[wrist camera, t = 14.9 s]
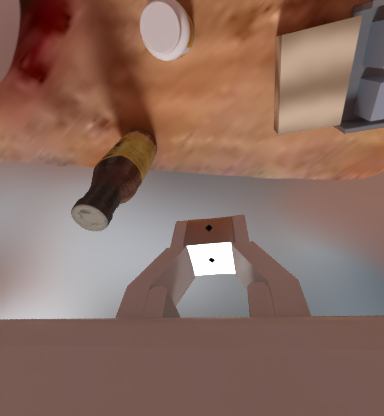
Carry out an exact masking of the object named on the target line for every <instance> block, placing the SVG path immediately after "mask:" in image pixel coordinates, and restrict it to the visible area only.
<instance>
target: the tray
mask: <svg viewBox="0 0 384 416" xmlns="http://www.w3.org/2000/svg"><path fill="white" fill-rule="evenodd" d="M361 15H362V20H361V25H360V30H359V35H358V40H357V45H356V50H355V55H354V60H353V65H352V70H351V75H350V80H349V85H348V89H347V94H346V99H345V104H344V109H343V114H342V119H341V124H340V125H336V126H334V127H335V128H337V129H338V130H340V131H341V132H343V133H344V134H345V133H351V132H358V131H364V130H370V129H377V128H383V127H384V119H382V120H375V121H368V120H366V119H364V118H362V117H360V116H358V115H355V114H353V109H354V104H355V100H356V96H357V91H358V87H359V83H360V79H361V78H366V77H371V76H377V75H384V69H381V68H373V67H365V66H362V62H363V58H364V54H365V49H366V45H367V41H368V36H369V32H370V28H371V23H372V22H375V21H379V20H383V19H384V0H374V1H370V2H367V3H364V4H360V5H357V6H354V7H353V13H352V17H356V16H361Z"/></svg>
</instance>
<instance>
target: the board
mask: <svg viewBox="0 0 384 416" xmlns="http://www.w3.org/2000/svg"><path fill="white" fill-rule="evenodd" d="M361 20H362V15H361V16H356V17H352V18H347V19H343V20H339V21H336V22H332V23H328V24H324V25H320V26H316V27H312V28H308V29H304V30H300V31H296V32H292V33H288V34H284V35H280V36H276V61H275V105H274V130H275V131H276V133H277V134H278V135H283V134H289V133H294V132H300V131H306V130H312V129H318V128H324V127H330V126H336V125H340V124H341V119H342V114H343V109H344V104H345V99H346V94H347V89H348V85H349V80H350V75H351V70H352V65H353V60H354V55H355V50H356V45H357V40H358V35H359V30H360V25H361Z"/></svg>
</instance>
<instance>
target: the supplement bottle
mask: <svg viewBox="0 0 384 416" xmlns="http://www.w3.org/2000/svg"><path fill="white" fill-rule="evenodd" d="M140 32H141V36H142V39H143V42H144V44H145V46H146V47H147V49H148V50H149V52H150V53H151V54H152V55H154V56H155V57H157V58H158V59H161V60H165V61H170V60H174V59H178V58H181V57H183V56H184V55H186V54H187V53H188V52H189V50H190V49H191V47H192V44H193V40H194V26H193V23H192V20H191V18H190V16H189V14H188V13H187V12H186V11H185V9H184V8H183V7H182V6H181V4H180V3H179V2H177V1H176V0H151V1H150V2H149V3H148V4H147V5H146V7H145V9H144V10H143V12H142V15H141V18H140Z"/></svg>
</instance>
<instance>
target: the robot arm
mask: <svg viewBox="0 0 384 416" xmlns="http://www.w3.org/2000/svg"><path fill="white" fill-rule="evenodd" d="M232 220H233V221H232ZM226 273H235V275H236V276H237V278H238V279H239V280H240V282H241V283H242V284H243V286H244V287H245V288H246V289H247V291H248V303H249V315H250V317H209V318H208V317H203V318H202V317H201V318H181V317H180V315H179V313H178V311H177V308H176V305H177V304H178V302H179V301H180V299H181V298H182V296H183V295H184V293H185V292H186V290H187V289H188V287H189V286H190V284H191V283H192V281H193V280H194V278H195V277H196V276H195V275H206V274H226ZM0 416H384V315H383V316H311V314H310V311H309V309H308V306H307V303H306V300H305V297H304V295H303V292H302V289H301V286H300V283H299V281H298V279H297V278H295V277H294V276H293V275H292V274H291V273H289V272H288V271H287V270H286V269H285V268H284V267H282V266H281V265H280V264H279V263H278V262H276V261H275V260H274V259H273V258H272V257H271V256H269V255H268V254H267V253H266V252H265V251H264V250H262V249H261V248H260V247H259V246H258V245H257V244H255V243H254V242H253V241H252V242H249V238H248V232H247V226H246V221H245V216H244V215H237V216H231V217H221V218H211V219H197V220H188V221H177V222H176V224H175V229H174V233H173V238H172V242H171V246H170V248H166V249H165V250H164V252H162V253H161V254H160V255H159V256H158V257H157V258H156V259H155V260H154V261H153V262H152V263H151V264H150V265H149V266H148V267H147V268H146V269H145V270H144V271H143V272H142V273H141V274H140V275H139V276H138V277H137V278H136V279H135V280H134V281H132V282H131V283H130V284H129V285H128V286H127V289H126V291H125V294H124V297H123V299H122V302H121V305H120V307H119V310H118V313H117V315H116V318H112V319H110V318H109V319H19V320H18V319H14V320H13V319H10V320H0Z"/></svg>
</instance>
